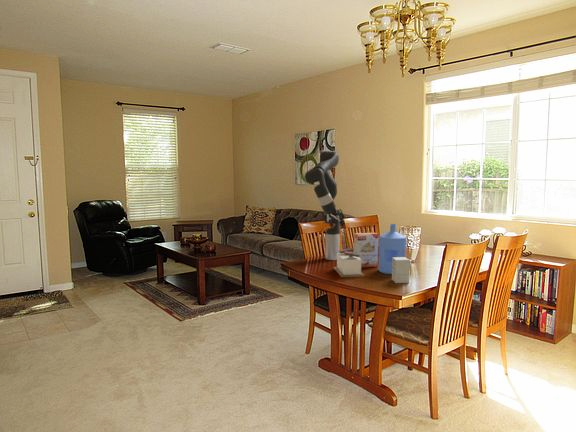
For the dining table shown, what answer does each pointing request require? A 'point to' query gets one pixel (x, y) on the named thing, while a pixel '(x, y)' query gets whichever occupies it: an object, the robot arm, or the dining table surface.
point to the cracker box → (366, 248)
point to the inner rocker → (346, 250)
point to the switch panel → (348, 266)
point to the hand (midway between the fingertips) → (337, 226)
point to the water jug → (390, 249)
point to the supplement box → (400, 269)
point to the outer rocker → (351, 254)
